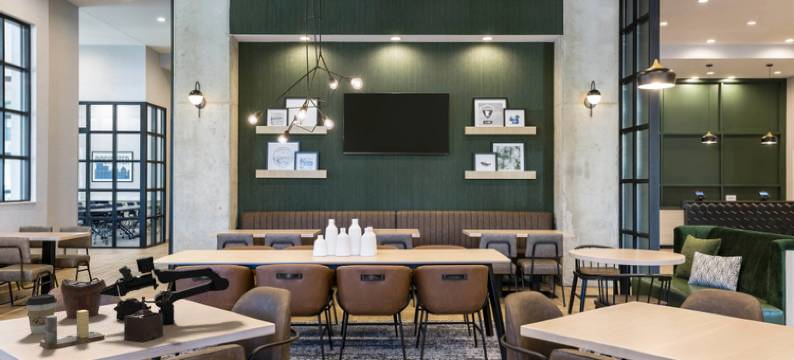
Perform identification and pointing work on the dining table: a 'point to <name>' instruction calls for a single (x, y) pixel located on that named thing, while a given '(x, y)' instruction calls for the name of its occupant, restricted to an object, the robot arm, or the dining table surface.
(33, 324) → the coffee cup
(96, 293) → the brown wicker basket
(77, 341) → the gauge board
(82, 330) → the leg
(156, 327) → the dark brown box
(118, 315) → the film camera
